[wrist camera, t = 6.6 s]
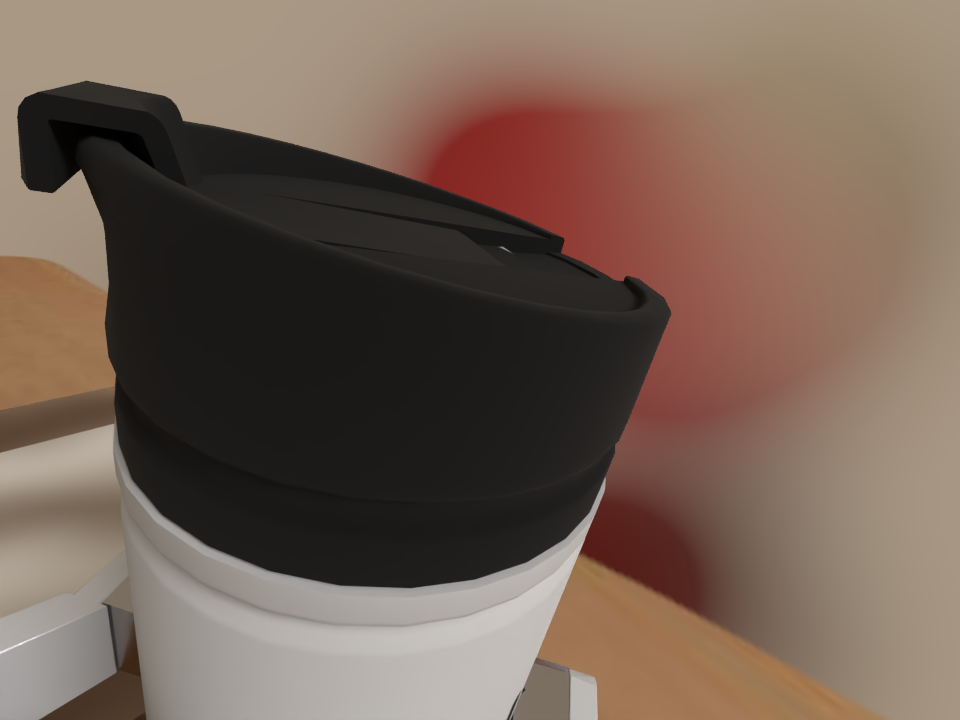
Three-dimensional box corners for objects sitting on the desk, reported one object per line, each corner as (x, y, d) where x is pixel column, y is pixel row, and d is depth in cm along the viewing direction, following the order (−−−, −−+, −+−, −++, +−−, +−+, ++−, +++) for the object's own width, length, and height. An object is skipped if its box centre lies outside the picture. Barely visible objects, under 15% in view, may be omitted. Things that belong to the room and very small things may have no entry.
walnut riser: (-165, 531, 21) (-203, 448, 19) (198, 426, 31) (196, 366, 29) (-101, 976, 12) (-159, 900, 10) (375, 621, 22) (388, 552, 20)
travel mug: (172, 822, 15) (96, 66, 7) (388, 744, 18) (528, 155, 10) (150, 1191, 10) (-268, 117, 2) (450, 1000, 13) (856, 267, 5)
